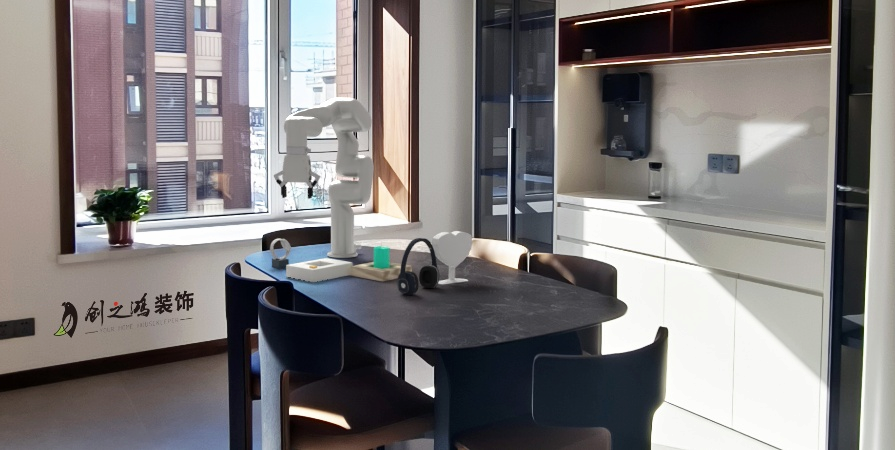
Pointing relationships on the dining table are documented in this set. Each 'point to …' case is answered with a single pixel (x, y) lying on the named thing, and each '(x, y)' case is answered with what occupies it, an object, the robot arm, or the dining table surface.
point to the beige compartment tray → (378, 271)
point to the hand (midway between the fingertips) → (297, 197)
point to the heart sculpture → (452, 251)
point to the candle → (381, 257)
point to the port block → (319, 269)
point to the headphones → (427, 273)
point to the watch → (281, 261)
